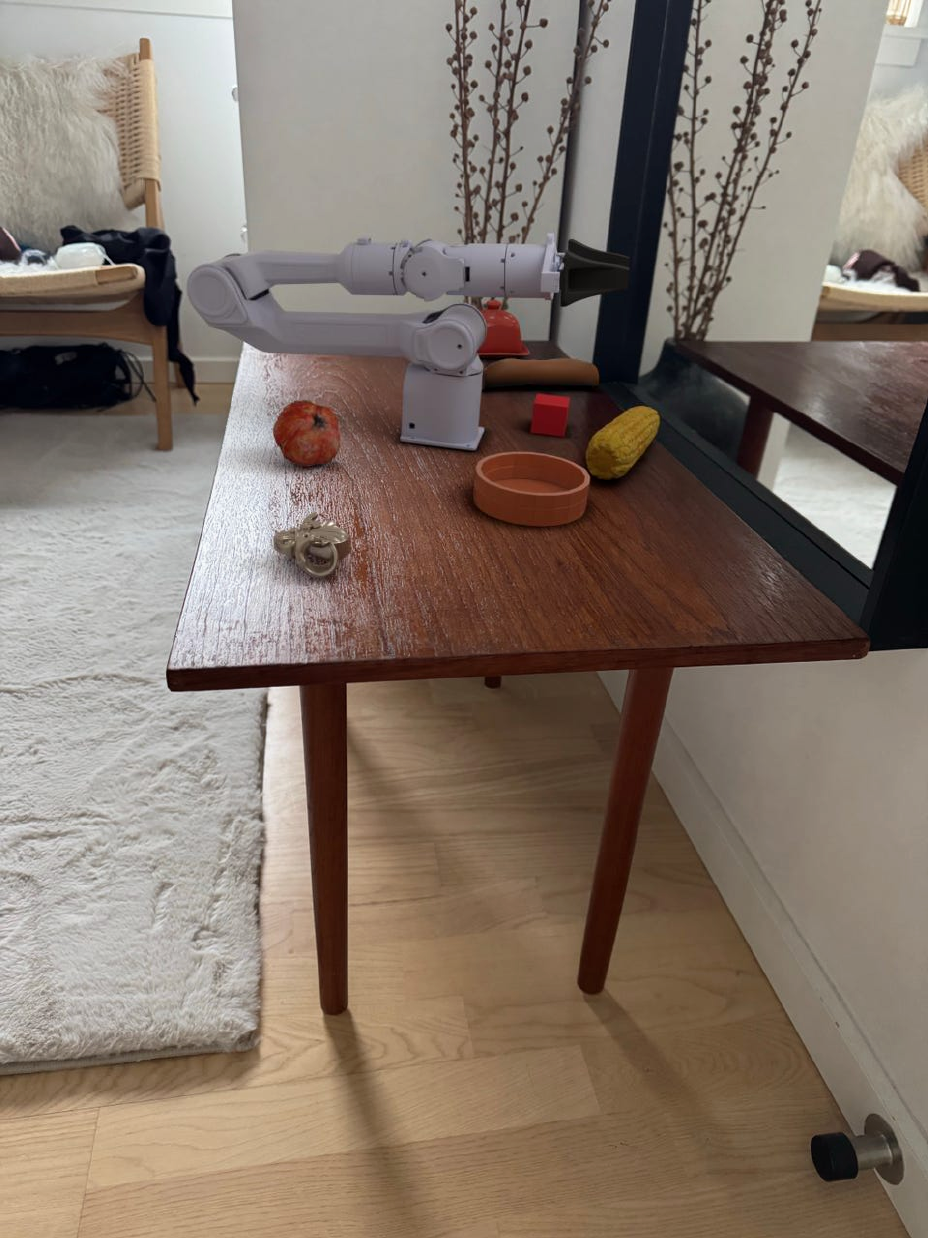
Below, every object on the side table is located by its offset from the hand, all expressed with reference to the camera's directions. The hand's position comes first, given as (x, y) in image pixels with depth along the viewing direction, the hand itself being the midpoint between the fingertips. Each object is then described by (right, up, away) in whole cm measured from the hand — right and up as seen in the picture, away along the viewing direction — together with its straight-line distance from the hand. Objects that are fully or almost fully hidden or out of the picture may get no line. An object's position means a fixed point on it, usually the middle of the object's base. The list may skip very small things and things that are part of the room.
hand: (628, 272), depth 99 cm
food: (+1, -19, +11) cm, 22 cm away
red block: (-7, -13, +19) cm, 24 cm away
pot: (-11, -26, -3) cm, 28 cm away
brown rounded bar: (-8, -3, +36) cm, 37 cm away
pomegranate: (-36, -21, +3) cm, 42 cm away
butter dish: (-14, +6, +51) cm, 53 cm away
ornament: (-32, -33, -18) cm, 50 cm away
